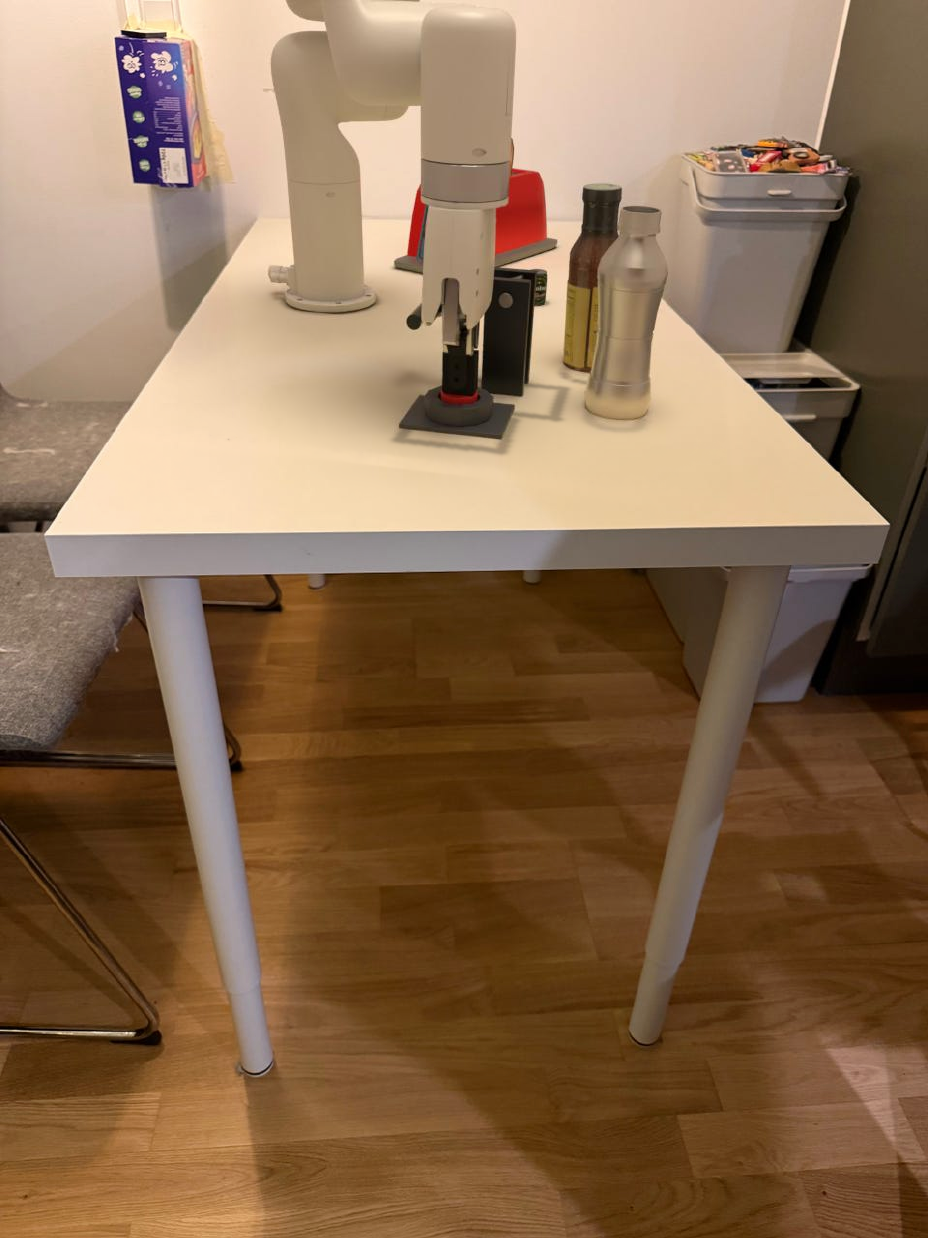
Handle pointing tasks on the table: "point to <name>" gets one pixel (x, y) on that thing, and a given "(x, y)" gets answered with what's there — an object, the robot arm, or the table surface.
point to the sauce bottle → (588, 272)
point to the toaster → (515, 222)
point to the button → (459, 398)
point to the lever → (415, 317)
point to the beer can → (540, 286)
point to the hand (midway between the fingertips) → (459, 391)
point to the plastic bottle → (627, 317)
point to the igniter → (459, 415)
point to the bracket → (508, 332)
